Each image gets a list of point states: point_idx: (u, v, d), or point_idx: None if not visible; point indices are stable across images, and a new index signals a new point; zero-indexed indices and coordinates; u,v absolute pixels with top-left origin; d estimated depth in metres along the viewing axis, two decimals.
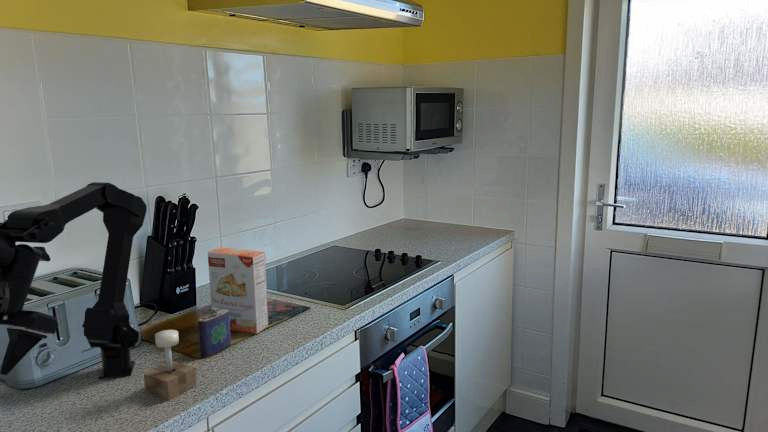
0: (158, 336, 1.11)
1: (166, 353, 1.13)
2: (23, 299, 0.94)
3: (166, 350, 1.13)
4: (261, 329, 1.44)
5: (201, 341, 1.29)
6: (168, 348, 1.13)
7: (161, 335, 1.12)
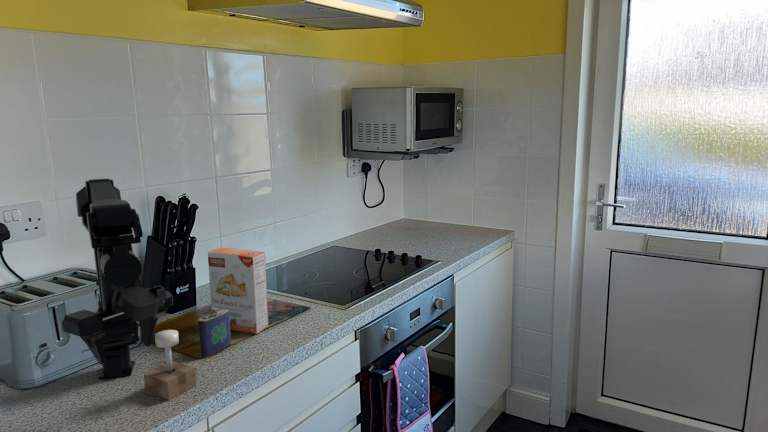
0: (158, 336, 1.11)
1: (166, 353, 1.13)
2: None
3: (166, 350, 1.13)
4: (261, 329, 1.44)
5: (201, 341, 1.29)
6: (168, 348, 1.13)
7: (161, 335, 1.12)
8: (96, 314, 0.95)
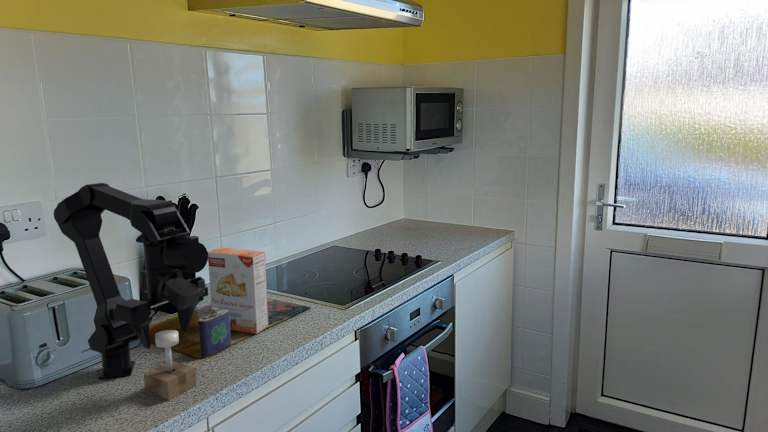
0: (158, 336, 1.11)
1: (166, 353, 1.13)
2: None
3: (166, 350, 1.13)
4: (261, 329, 1.44)
5: (201, 341, 1.29)
6: (168, 348, 1.13)
7: (161, 335, 1.12)
8: (145, 303, 1.05)
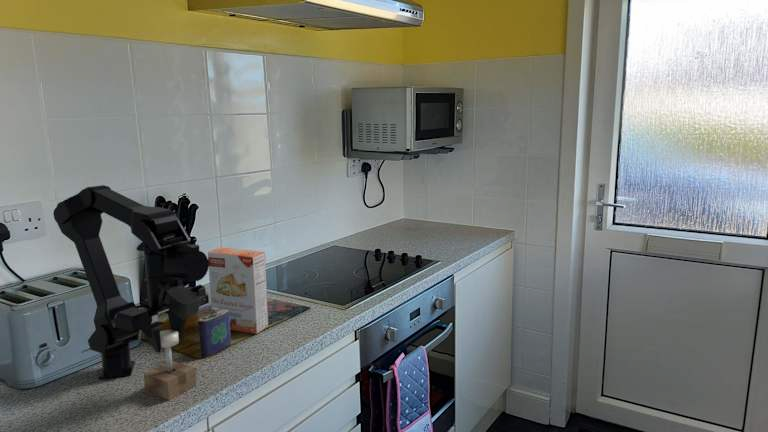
0: None
1: (166, 353, 1.13)
2: None
3: (166, 351, 1.13)
4: (261, 329, 1.44)
5: (201, 341, 1.29)
6: (168, 348, 1.13)
7: (161, 335, 1.12)
8: (146, 312, 1.05)
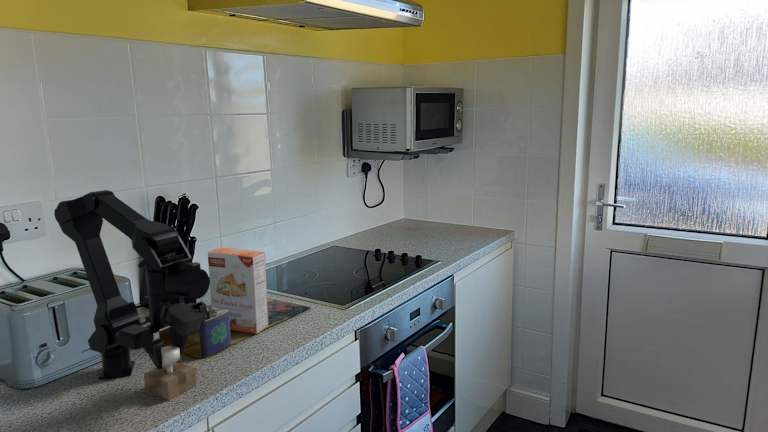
0: None
1: (167, 369, 1.13)
2: None
3: (167, 367, 1.13)
4: (261, 329, 1.44)
5: (201, 341, 1.29)
6: (169, 364, 1.13)
7: (162, 352, 1.12)
8: (147, 329, 1.06)
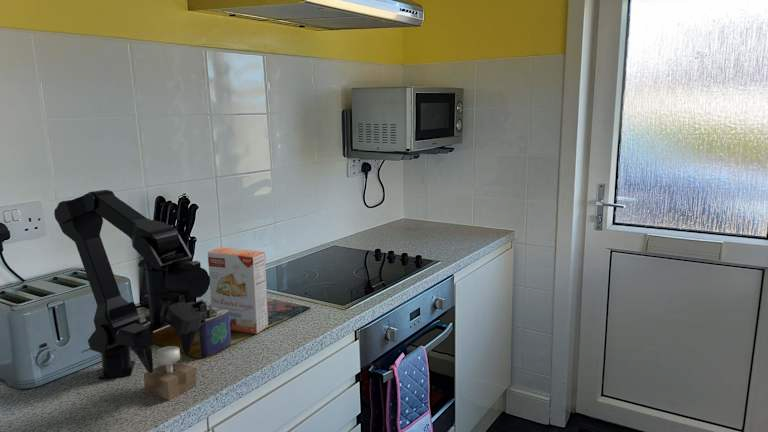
0: (159, 353, 1.12)
1: (167, 369, 1.13)
2: None
3: (167, 367, 1.13)
4: (261, 329, 1.44)
5: (201, 341, 1.29)
6: (169, 364, 1.13)
7: (162, 352, 1.12)
8: (147, 328, 1.06)
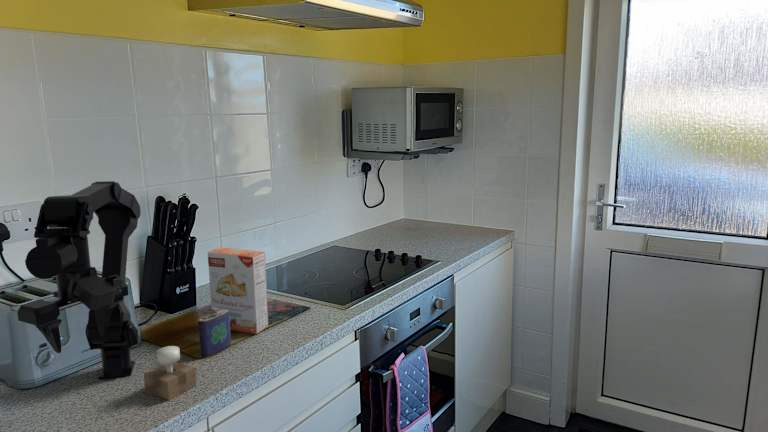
0: (159, 353, 1.12)
1: (167, 369, 1.13)
2: None
3: (167, 367, 1.13)
4: (261, 329, 1.44)
5: (201, 341, 1.29)
6: (169, 364, 1.13)
7: (162, 352, 1.12)
8: (52, 304, 0.97)
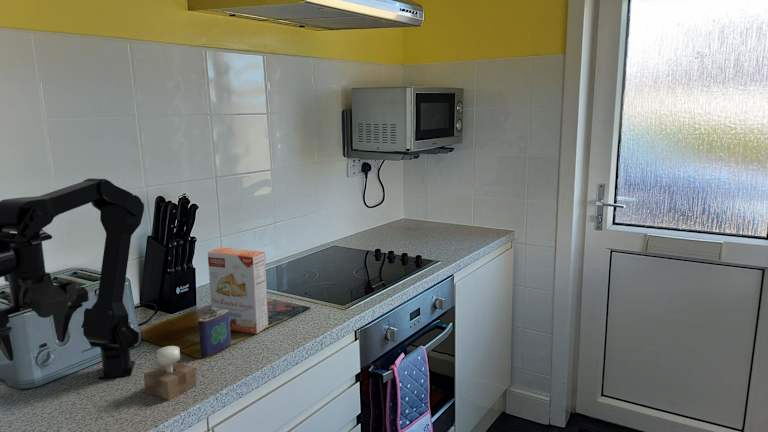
0: (159, 353, 1.12)
1: (167, 369, 1.13)
2: None
3: (167, 367, 1.13)
4: (261, 329, 1.44)
5: (201, 341, 1.29)
6: (169, 364, 1.13)
7: (162, 352, 1.12)
8: (1, 311, 0.94)
